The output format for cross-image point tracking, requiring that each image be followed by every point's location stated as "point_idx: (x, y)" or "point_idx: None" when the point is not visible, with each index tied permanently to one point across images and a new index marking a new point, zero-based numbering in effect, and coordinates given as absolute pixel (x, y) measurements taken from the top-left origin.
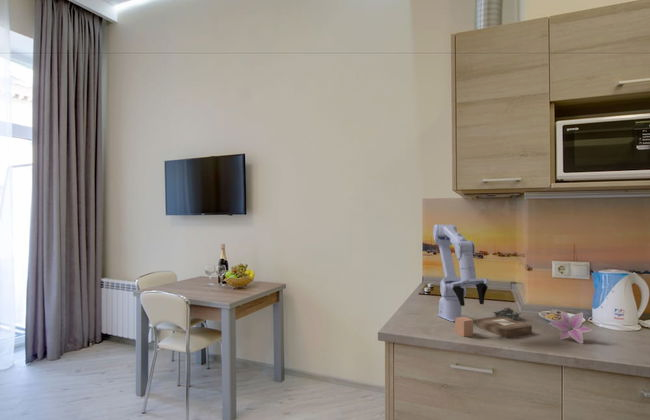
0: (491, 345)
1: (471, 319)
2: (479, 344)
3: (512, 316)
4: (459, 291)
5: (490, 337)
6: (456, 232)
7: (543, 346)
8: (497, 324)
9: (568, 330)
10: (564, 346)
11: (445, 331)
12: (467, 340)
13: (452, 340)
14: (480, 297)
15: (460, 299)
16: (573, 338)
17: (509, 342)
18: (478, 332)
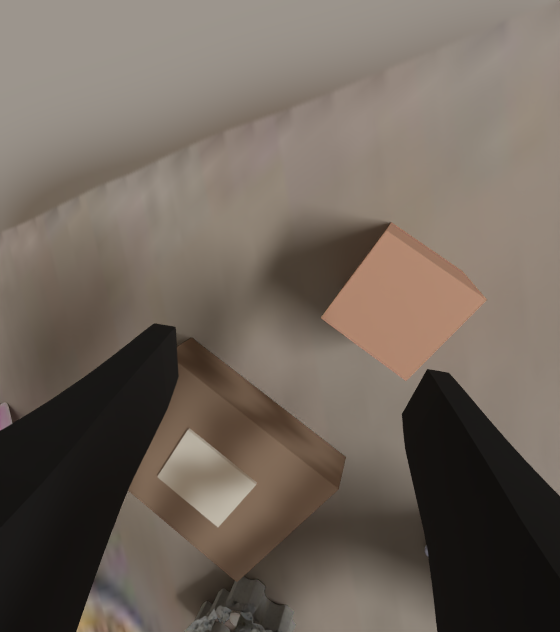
0: (222, 168)
1: (335, 321)
2: (279, 135)
3: (213, 608)
4: (540, 613)
5: (252, 305)
6: None
7: (65, 309)
8: (222, 431)
9: None
10: (25, 350)
11: (542, 261)
12: (357, 161)
13: (460, 77)
14: (103, 369)
15: (467, 428)
16: (11, 421)
17: (167, 280)
18: (322, 358)
